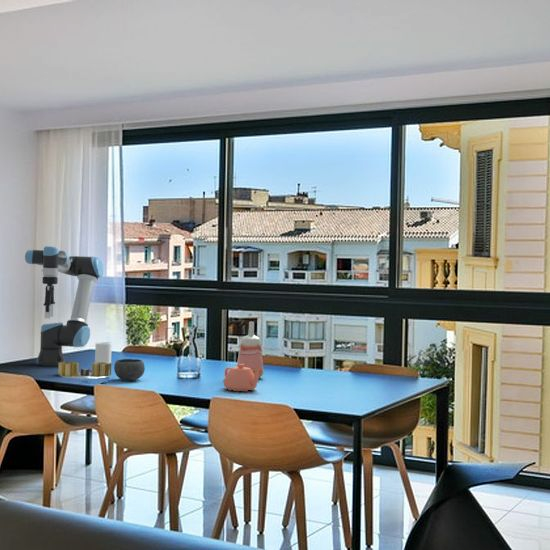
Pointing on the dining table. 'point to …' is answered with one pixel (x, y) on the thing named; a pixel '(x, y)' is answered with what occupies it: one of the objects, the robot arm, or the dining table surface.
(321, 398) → the dining table surface
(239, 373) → the teapot
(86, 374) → the carrier
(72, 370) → the gear
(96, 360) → the cup
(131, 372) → the bowl
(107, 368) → the seated gear
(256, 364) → the pink squeeze bottle
